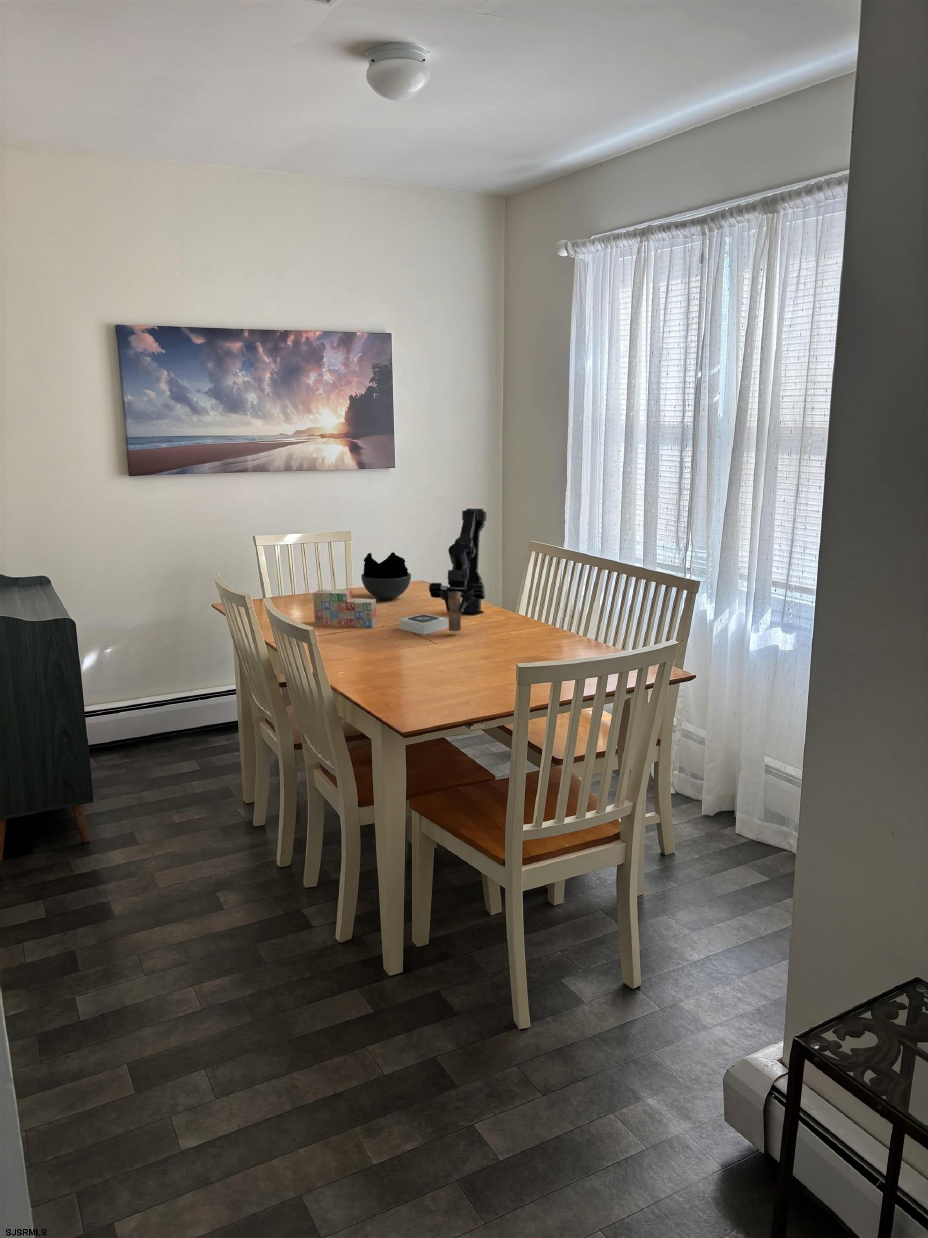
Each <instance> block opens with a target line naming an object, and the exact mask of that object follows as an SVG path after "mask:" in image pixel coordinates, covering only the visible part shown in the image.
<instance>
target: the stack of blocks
mask: <svg viewBox="0 0 928 1238" xmlns="http://www.w3.org/2000/svg"><path fill="white" fill-rule="evenodd" d="M312 597H313V612H314V613H313V614H314V626H315V625H322V626H321V627H334V626H336V628H337V627H339V628H363V629H364V628H367V629H369V628H370V629H372V628H373V627H374V626H376V625H377V598H354V597H353V598H352V589H321V588H320V589H317V590H316V591H313V594H312Z"/></svg>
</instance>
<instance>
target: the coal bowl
mask: <svg viewBox="0 0 928 1238" xmlns="http://www.w3.org/2000/svg"><path fill="white" fill-rule="evenodd" d="M385 558H386V559H383V560H382V561H381V562H378V561H376V560H375V559H374V558H373V554H372V553H371V552H369V553H367V555H366V556H365V557H364V559H363V562H364V563H363V573H361V575H360V577H361V581H362V584H363V587H364V588H365V590H366V591H367V592H368V593H369V594H370V595H371V596H373V597H375V599H379V600H392V599H395V598H398V597H399V596H402V595H403V594H404V592H405V591H406V590H407V589H408V587H409V585H410V582H411V579H412V574H411V573H410V572H409V569H408V567H407V566H406V560H405V558H404V557H400V556H399V555H397V554H396V553H395V552H390V554H389V555H388V556H387V557H385Z"/></svg>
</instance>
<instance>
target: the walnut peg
mask: <svg viewBox="0 0 928 1238" xmlns="http://www.w3.org/2000/svg"><path fill="white" fill-rule="evenodd" d="M461 601H462V598H461V596H460V592H458V591H451V592H449V612H448V631H451V632H459V631H461V630H462V629H461V626H462V623H461V622H462V621H461V619H462V617H461V615H462V613H460V605H461Z"/></svg>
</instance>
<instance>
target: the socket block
mask: <svg viewBox="0 0 928 1238" xmlns="http://www.w3.org/2000/svg"><path fill="white" fill-rule="evenodd" d="M398 620H399V621H398V623H399V624H398V625H399V626H398V628H399V630H401V631H402V630H403V631H406V632H411V633H415V634H420V635H427V634H431V633H434V632H435V633H436V632H439V631H443V630H446V629H449V618H447V617H442V616H437V615H432V614H427V613H421V614H417V615H411V616H407V617H404V618H399V619H398Z"/></svg>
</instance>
